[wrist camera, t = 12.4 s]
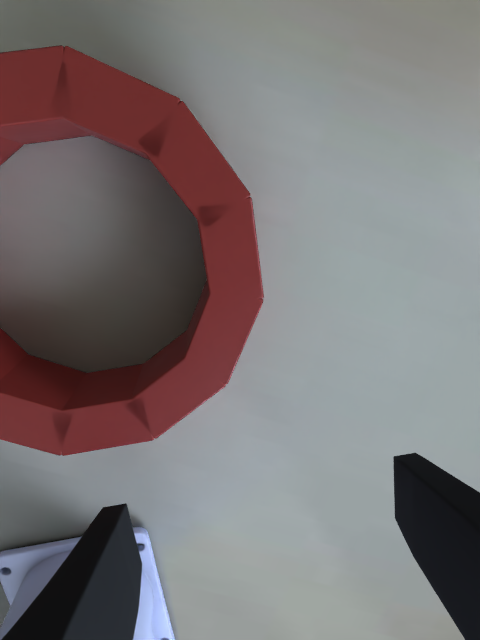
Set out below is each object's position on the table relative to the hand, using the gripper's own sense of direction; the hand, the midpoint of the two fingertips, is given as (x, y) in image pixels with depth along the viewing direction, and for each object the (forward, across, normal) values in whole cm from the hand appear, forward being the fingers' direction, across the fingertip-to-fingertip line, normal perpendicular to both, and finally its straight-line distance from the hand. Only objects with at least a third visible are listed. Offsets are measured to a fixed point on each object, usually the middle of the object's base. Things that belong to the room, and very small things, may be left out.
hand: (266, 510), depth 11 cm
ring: (+9, +6, -6) cm, 13 cm away
